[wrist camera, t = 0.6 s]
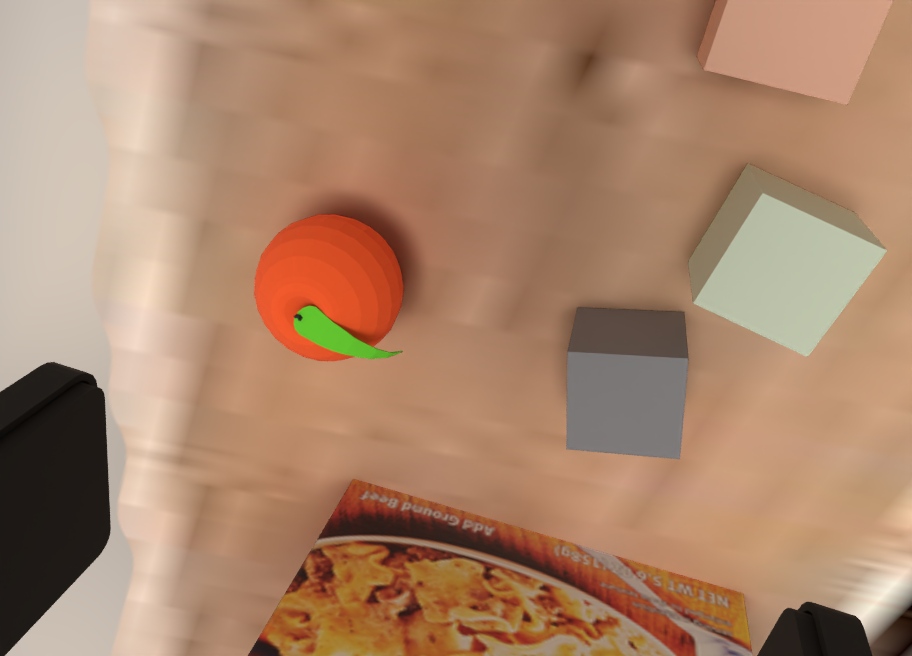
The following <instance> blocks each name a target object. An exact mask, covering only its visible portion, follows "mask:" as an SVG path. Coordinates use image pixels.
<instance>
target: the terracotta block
mask: <svg viewBox="0 0 912 656" xmlns="http://www.w3.org/2000/svg"><path fill="white" fill-rule="evenodd" d="M892 3H893V0H716V1H715V4H714V7H713V10H712V13H711V16H710V19H709V22H708V25H707V28H706V31H705V34H704V37H703V40H702V43H701V46H700V49H699V52H698V54H697V58H698V60H699V62H700V64H701V66H702V67H703V69H704V70H707V71H711V72H715V73H719V74H723V75H727V76H731V77H735V78H739V79H743V80H747V81H751V82H756V83H760V84H764V85H768V86H772V87H776V88H780V89H784V90H788V91H792V92H796V93H800V94H805V95H809V96H813V97H817V98H821V99H825V100H829V101H833V102H837V103H841V104H845V105H848V102H849V100H850V98H851V96H852V93H853V91H854V89H855V87H856V84H857V82H858V80H859V77H860V75H861V73H862V71H863V68H864V66H865V64H866V62H867V59H868V57H869V55H870V53H871V50H872V48H873V46H874V43H875V41H876V39H877V37H878V34H879V32H880V30H881V28H882V25H883V23H884V21H885V19H886V16H887V14H888V12H889V9H890V7H891V5H892Z"/></svg>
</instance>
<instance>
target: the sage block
mask: <svg viewBox="0 0 912 656" xmlns="http://www.w3.org/2000/svg"><path fill="white" fill-rule="evenodd" d="M886 252H887V250H886V248H885V247H884V246H883V245H882V244H881V242H880V241H879V240H878V239H877V238H876V237H875V235H874V234H873V233H872V232H871V231H870V230H869V228H868V227H867V226H866V225H865V224H864V223H863V221H862V220H861V219H860V218H859V217H858V215H857V214H856V213H854V212H852V211H850V210H848V209H846V208H844V207H841V206H839V205H837V204H835V203H833V202H831V201H828V200H826V199H824V198H822V197H820V196H818V195H815V194H813V193H811V192H809V191H807V190H805V189H802V188H800V187H798V186H796V185H794V184H792V183H789V182H787V181H785V180H783V179H781V178H779V177H776V176H774V175H772V174H770V173H768V172H766V171H763V170H761V169H759V168H757V167H755V166H753V165H750V164H747V165H746V167H745V168H744V170H743V172H742V173H741V175H740V177H739V178H738V180H737V182H736V183H735V185H734V187H733V188H732V190H731V192H730V193H729V195H728V197H727V198H726V200H725V201H724V203H723V205H722V206H721V208H720V210H719V211H718V213H717V215H716V216H715V218H714V220H713V221H712V223H711V225H710V226H709V228H708V230H707V231H706V233H705V234H704V236H703V238H702V239H701V241H700V243H699V244H698V246H697V248H696V249H695V251H694V253H693V254H692V256H691V258H690V259H689V261H688V267H689V275H690V283H691V291H692V299H693V304H695V305H698V306H700V307H702V308H704V309H706V310H708V311H710V312H712V313H715V314H717V315H719V316H721V317H723V318H725V319H727V320H730V321H732V322H734V323H736V324H738V325H740V326H742V327H744V328H747V329H749V330H751V331H753V332H755V333H757V334H759V335H761V336H764V337H766V338H768V339H770V340H772V341H774V342H776V343H779V344H781V345H783V346H785V347H787V348H789V349H791V350H793V351H796V352H798V353H800V354H802V355H804V356H806V357H808V356H809V354H810V353H811V352H812V350H813V349H814V348H815V346H816V345H817V344H818V342H819V341H820V340H821V338H822V337H823V336H824V334H825V333H826V332H827V330H828V329H829V328H830V326H831V325H832V324H833V322H834V321H835V320H836V318H837V317H838V316H839V314H840V313H841V312H842V310H843V309H844V308H845V306H846V305H847V304H848V302H849V301H850V300H851V298H852V297H853V296H854V294H855V293H856V292H857V290H858V289H859V288H860V286H861V285H862V284H863V282H864V281H865V280H866V278H867V277H868V276H869V274H870V273H871V272H872V270H873V269H874V268H875V266H876V265H877V264H878V262H879V261H880V260H881V258H882V257H883V256H884V254H885V253H886Z"/></svg>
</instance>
